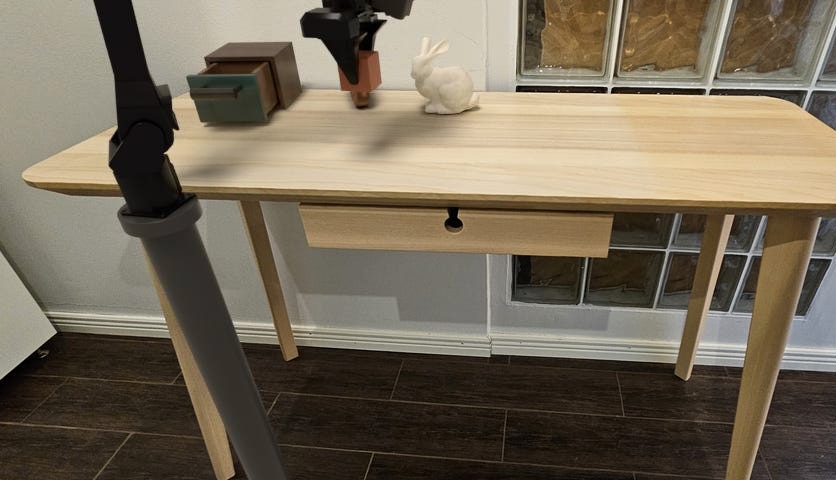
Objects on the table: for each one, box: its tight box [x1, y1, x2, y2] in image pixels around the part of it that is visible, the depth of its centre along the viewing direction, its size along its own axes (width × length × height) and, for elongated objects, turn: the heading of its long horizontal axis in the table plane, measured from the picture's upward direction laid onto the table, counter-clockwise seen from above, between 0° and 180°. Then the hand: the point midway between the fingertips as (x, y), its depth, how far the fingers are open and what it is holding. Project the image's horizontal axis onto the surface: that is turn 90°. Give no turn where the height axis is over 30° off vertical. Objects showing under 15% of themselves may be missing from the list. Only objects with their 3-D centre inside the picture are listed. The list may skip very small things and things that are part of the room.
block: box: [336, 50, 383, 93], centre depth 75 cm, size 4×4×4 cm
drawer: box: [185, 61, 279, 123], centre depth 93 cm, size 15×11×8 cm
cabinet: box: [203, 41, 303, 111], centre depth 103 cm, size 12×13×10 cm
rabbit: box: [410, 36, 480, 115], centre depth 97 cm, size 12×9×12 cm
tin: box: [349, 91, 371, 108], centre depth 103 cm, size 15×3×8 cm, turn 17°
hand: (360, 79), depth 76 cm, fingers closed on block, 4 cm apart
